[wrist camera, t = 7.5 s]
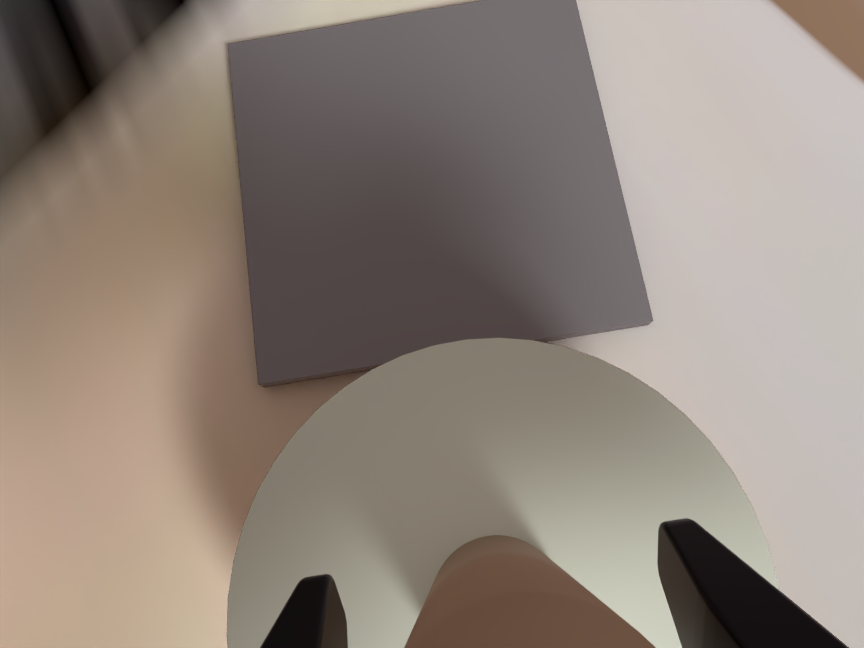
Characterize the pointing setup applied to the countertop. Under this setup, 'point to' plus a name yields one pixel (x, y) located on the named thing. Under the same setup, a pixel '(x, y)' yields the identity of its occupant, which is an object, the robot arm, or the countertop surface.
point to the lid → (488, 504)
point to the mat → (428, 187)
